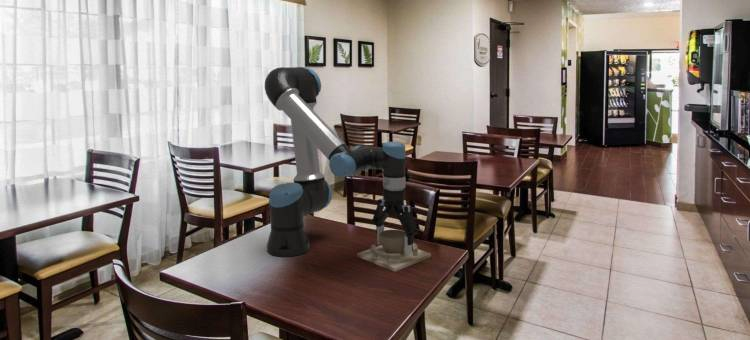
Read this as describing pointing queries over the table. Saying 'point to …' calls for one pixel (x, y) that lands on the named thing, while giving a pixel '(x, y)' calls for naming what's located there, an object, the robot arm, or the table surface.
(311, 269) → the table surface
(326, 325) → the table surface
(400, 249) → the flower pot
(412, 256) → the holder
